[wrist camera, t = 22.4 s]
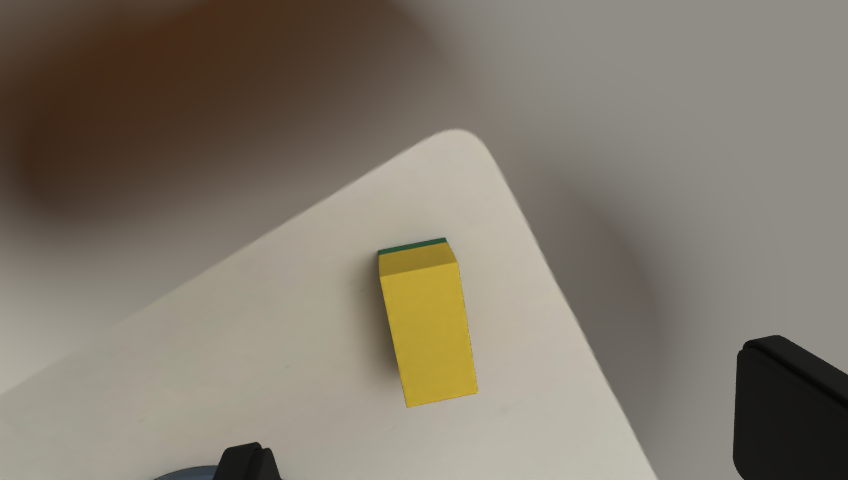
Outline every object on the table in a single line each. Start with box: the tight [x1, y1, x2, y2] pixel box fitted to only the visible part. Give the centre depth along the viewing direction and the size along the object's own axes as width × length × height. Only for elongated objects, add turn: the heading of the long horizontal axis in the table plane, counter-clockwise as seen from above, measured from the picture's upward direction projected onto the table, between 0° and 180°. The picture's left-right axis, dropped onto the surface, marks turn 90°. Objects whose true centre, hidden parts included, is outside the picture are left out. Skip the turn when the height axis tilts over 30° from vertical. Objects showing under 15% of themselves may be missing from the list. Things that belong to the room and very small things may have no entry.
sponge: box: [378, 238, 478, 408], centre depth 31 cm, size 5×9×5 cm, turn 10°
